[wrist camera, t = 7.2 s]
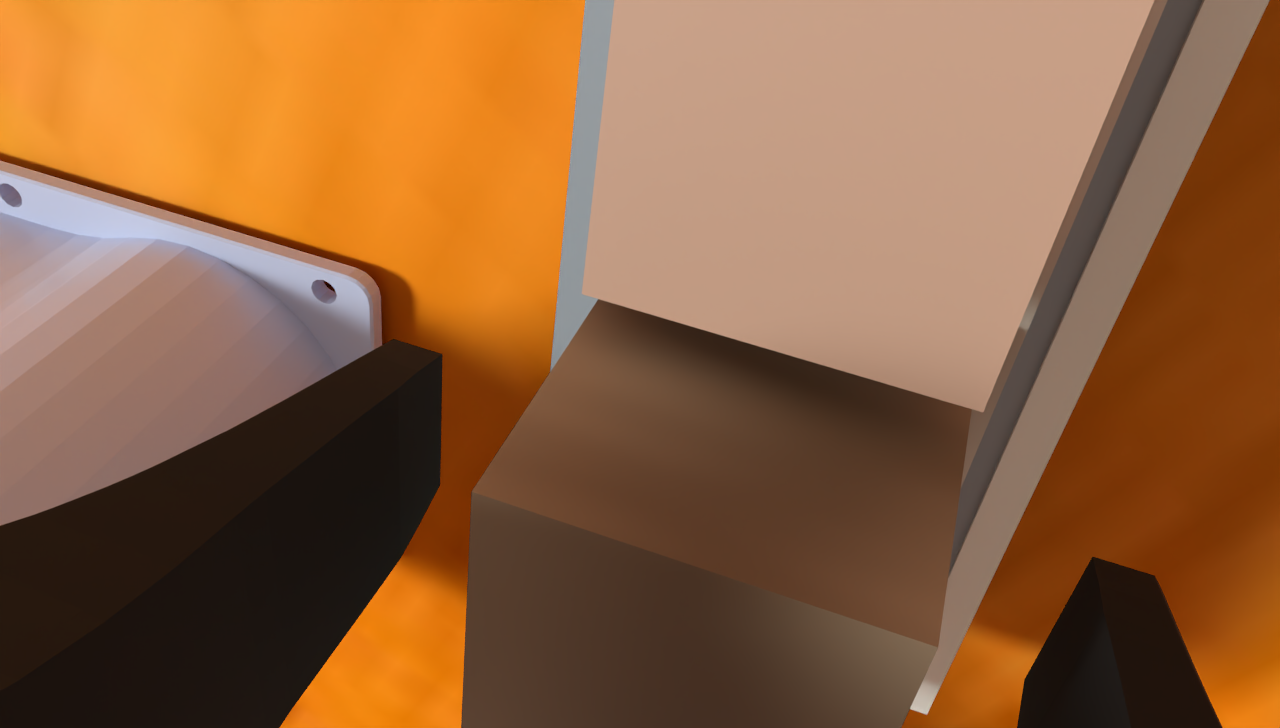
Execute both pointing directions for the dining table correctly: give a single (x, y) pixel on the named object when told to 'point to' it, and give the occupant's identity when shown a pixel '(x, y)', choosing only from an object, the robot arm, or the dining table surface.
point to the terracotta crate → (849, 172)
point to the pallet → (719, 530)
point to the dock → (1073, 299)
